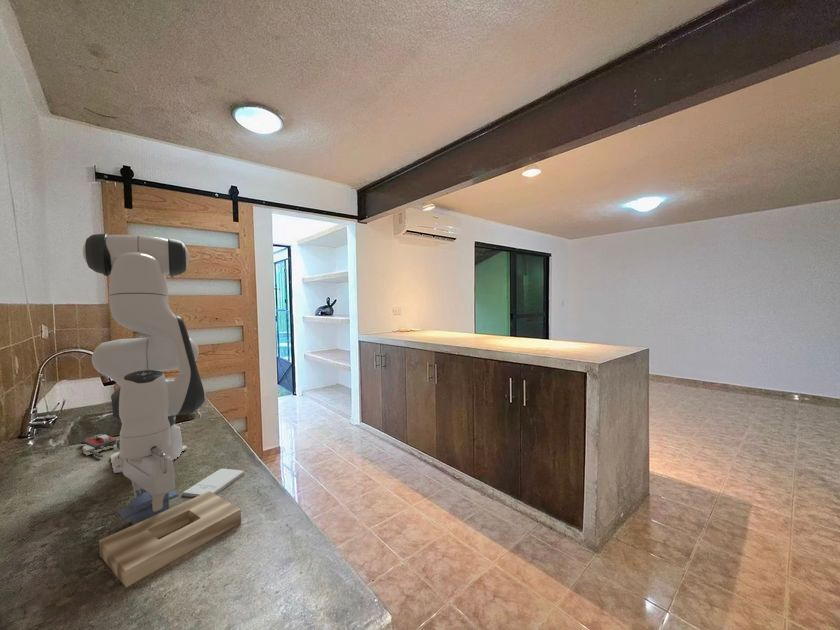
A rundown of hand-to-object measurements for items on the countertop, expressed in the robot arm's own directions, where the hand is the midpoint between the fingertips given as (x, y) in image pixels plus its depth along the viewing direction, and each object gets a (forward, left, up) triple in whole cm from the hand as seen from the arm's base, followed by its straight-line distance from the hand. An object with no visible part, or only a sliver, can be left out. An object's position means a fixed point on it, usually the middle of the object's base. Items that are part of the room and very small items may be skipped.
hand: (148, 502), depth 75 cm
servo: (-1, 0, -4) cm, 4 cm away
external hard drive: (-3, +16, -5) cm, 16 cm away
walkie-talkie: (-60, +6, -4) cm, 60 cm away
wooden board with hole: (+12, 0, -4) cm, 13 cm away
